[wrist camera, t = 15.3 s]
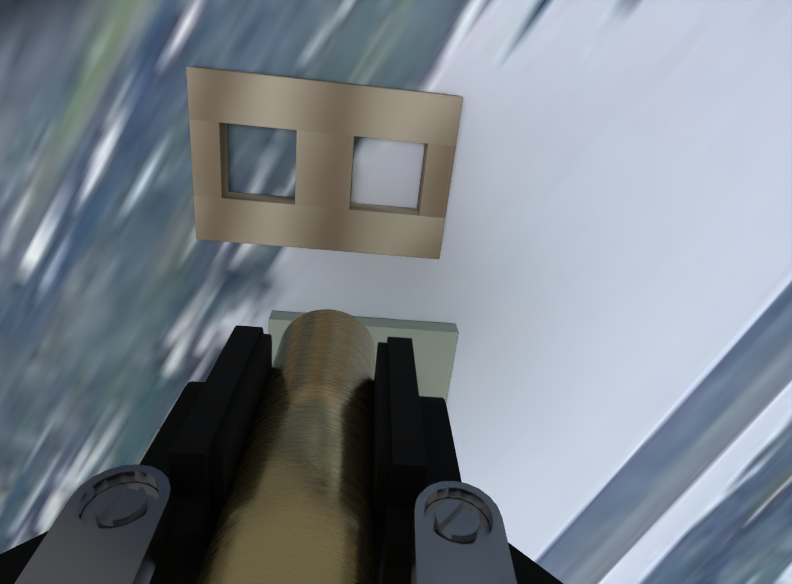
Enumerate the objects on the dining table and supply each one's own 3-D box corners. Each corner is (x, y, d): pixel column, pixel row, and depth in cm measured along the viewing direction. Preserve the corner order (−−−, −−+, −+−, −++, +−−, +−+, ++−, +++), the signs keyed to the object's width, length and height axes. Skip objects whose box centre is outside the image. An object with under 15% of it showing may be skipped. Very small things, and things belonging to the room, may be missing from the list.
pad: (271, 423, 36) (252, 489, 30) (272, 310, 33) (251, 362, 27) (437, 432, 37) (449, 498, 31) (455, 324, 34) (472, 376, 28)
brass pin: (279, 388, 13) (118, 923, 5) (279, 306, 12) (80, 802, 4) (371, 394, 13) (361, 921, 5) (379, 313, 12) (382, 805, 4)
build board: (204, 230, 30) (196, 239, 29) (196, 66, 27) (186, 66, 25) (436, 250, 31) (439, 259, 30) (458, 95, 28) (463, 97, 26)
